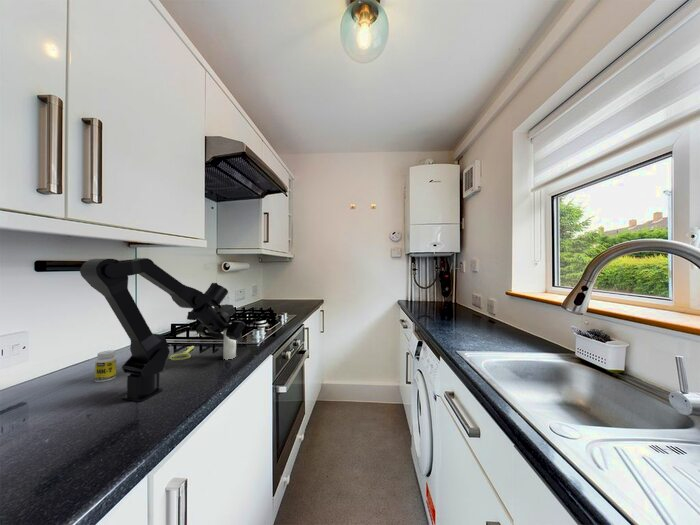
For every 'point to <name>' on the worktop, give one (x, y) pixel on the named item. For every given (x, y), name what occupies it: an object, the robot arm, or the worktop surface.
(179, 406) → the worktop surface
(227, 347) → the white bottle
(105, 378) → the supplement bottle
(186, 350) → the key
